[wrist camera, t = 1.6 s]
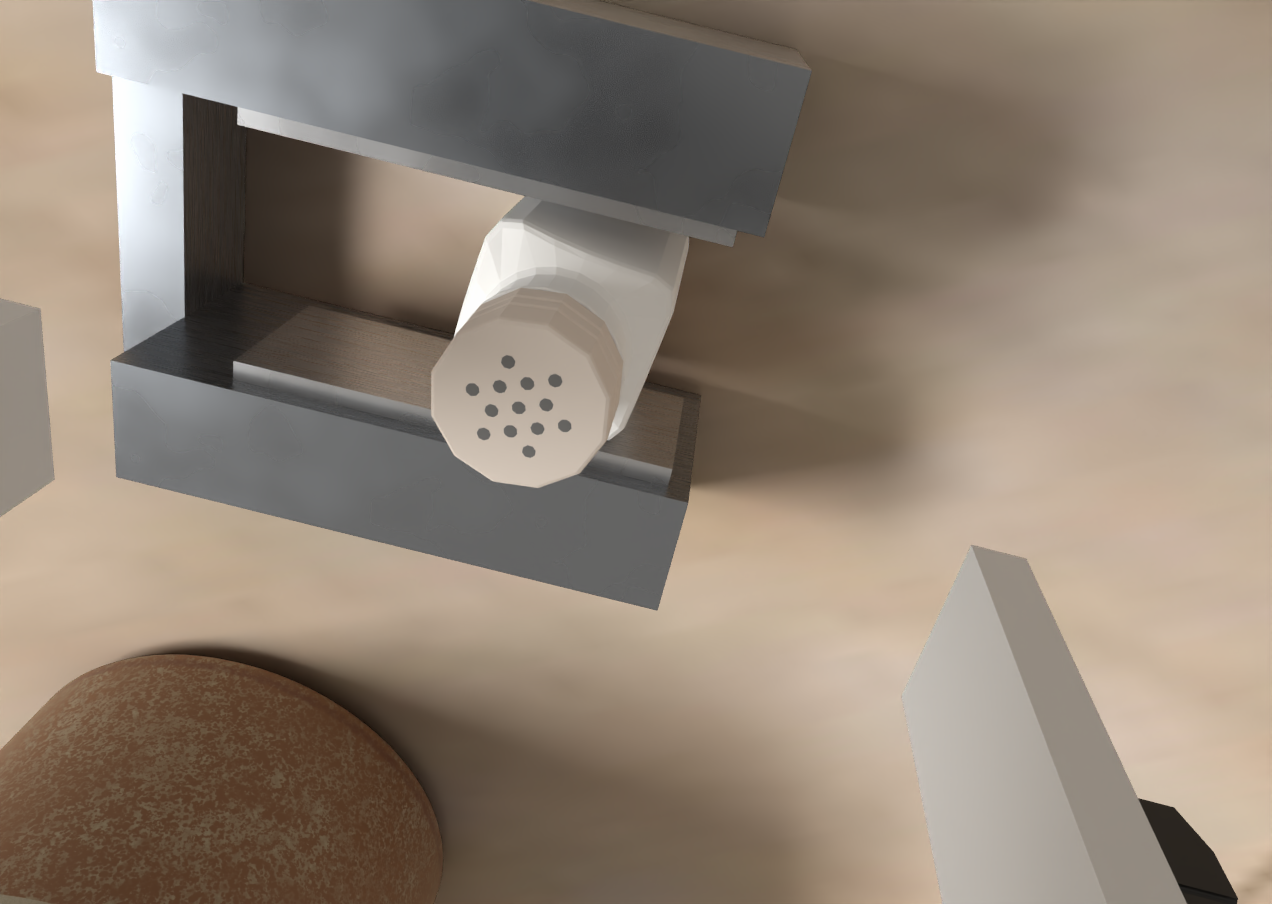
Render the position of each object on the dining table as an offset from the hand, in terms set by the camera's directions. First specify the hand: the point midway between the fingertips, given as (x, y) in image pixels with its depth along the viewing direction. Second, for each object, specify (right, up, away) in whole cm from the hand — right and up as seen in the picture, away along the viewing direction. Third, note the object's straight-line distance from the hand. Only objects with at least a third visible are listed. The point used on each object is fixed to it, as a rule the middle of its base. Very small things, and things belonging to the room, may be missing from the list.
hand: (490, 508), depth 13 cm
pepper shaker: (+1, +6, +11) cm, 13 cm away
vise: (-3, +7, +11) cm, 13 cm away
